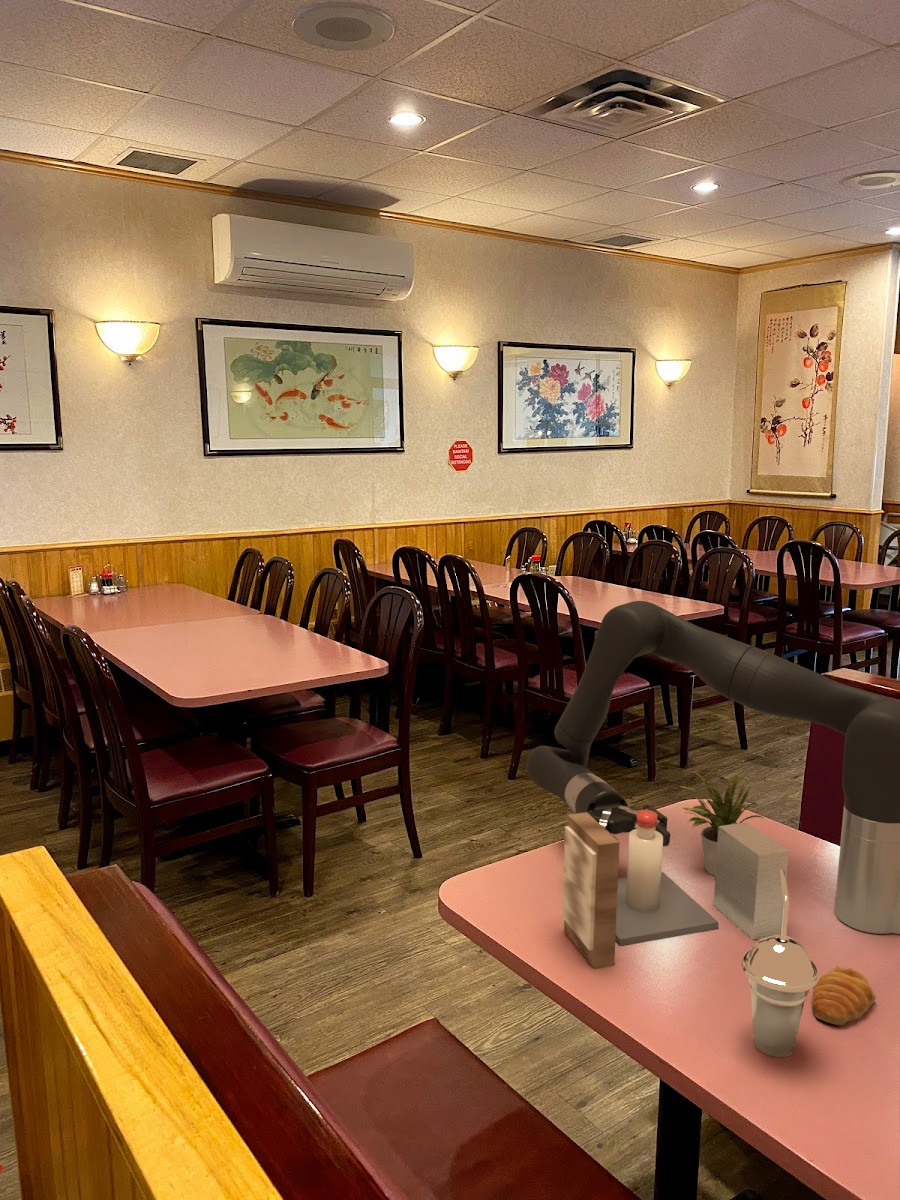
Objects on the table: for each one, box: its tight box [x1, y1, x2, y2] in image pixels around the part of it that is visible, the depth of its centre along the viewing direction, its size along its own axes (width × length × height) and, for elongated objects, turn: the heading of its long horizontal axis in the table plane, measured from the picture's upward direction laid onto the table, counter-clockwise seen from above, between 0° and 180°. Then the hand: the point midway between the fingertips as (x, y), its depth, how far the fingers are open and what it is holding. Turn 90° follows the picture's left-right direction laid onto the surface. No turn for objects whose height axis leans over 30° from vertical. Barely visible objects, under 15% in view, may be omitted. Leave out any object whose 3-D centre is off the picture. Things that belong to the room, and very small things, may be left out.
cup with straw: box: [741, 870, 819, 1058], centre depth 107 cm, size 8×9×20 cm
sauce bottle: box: [626, 809, 664, 912], centre depth 138 cm, size 5×5×14 cm
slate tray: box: [615, 871, 719, 946], centre depth 139 cm, size 16×16×1 cm
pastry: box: [811, 966, 877, 1026], centre depth 116 cm, size 9×7×4 cm
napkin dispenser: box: [713, 821, 790, 940], centre depth 135 cm, size 10×5×13 cm, turn 17°
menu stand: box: [561, 812, 620, 969], centre depth 127 cm, size 10×4×18 cm, turn 17°
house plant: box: [678, 770, 764, 877], centre depth 152 cm, size 14×14×16 cm
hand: (642, 844), depth 138 cm, fingers open, 8 cm apart
